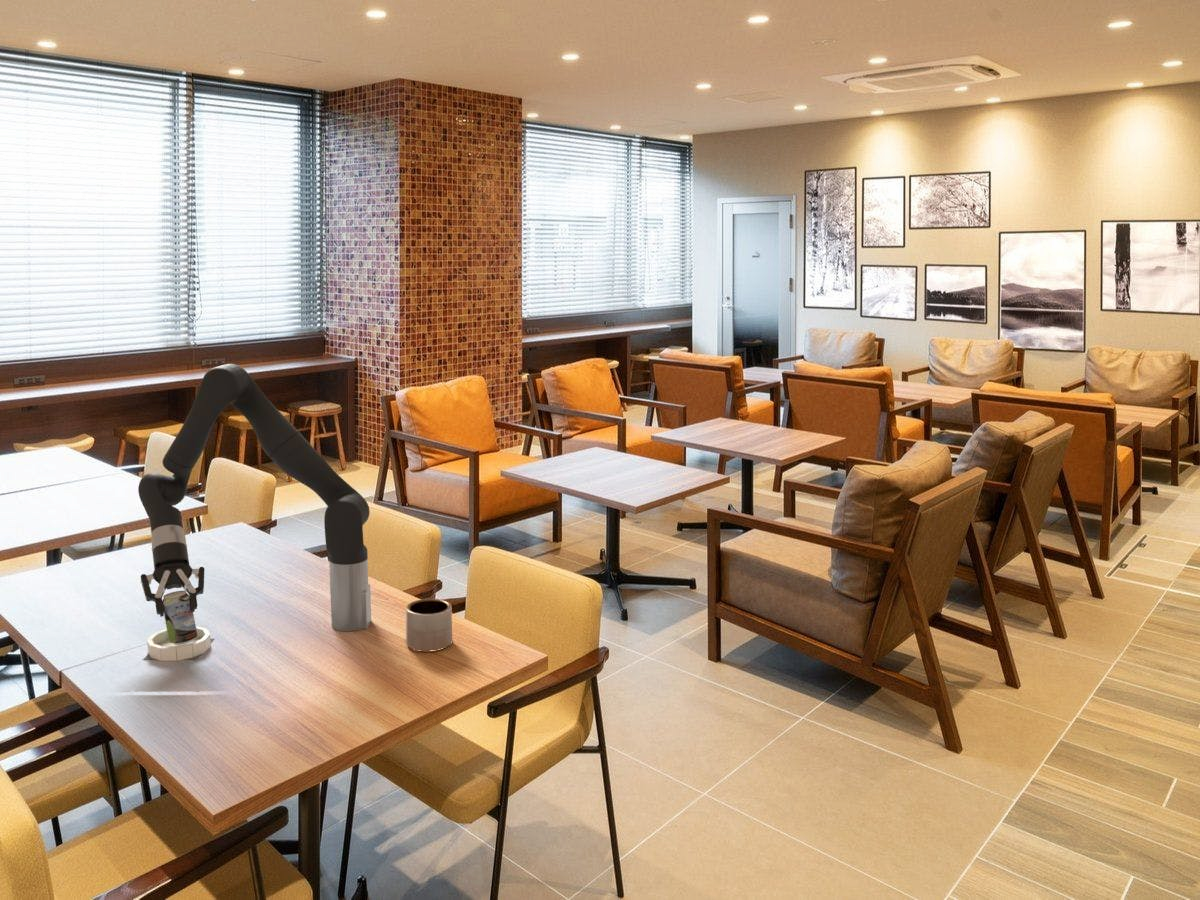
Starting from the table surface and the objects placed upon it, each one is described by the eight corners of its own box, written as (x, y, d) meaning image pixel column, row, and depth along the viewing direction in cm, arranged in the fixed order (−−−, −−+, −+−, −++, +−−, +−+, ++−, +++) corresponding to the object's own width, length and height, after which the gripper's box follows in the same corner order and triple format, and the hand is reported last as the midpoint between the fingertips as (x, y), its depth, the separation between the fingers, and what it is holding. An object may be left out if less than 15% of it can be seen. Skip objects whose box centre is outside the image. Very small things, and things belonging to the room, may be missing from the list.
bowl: (217, 637, 229) (217, 625, 228) (198, 660, 216) (197, 648, 215) (162, 637, 228) (161, 625, 227) (139, 660, 215) (138, 648, 215)
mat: (215, 640, 228) (214, 638, 228) (197, 662, 217) (196, 659, 216) (163, 640, 228) (163, 638, 228) (142, 662, 216) (142, 659, 216)
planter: (414, 656, 222) (413, 617, 220) (400, 639, 232) (399, 602, 230) (458, 648, 227) (458, 610, 225) (444, 632, 237) (443, 595, 235)
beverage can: (187, 649, 218) (184, 599, 216) (158, 645, 220) (154, 596, 217) (203, 638, 224) (200, 589, 222) (175, 635, 226) (171, 586, 223)
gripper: (135, 544, 220) (142, 611, 212) (202, 537, 227) (212, 601, 219) (136, 559, 226) (143, 625, 218) (201, 552, 233) (210, 614, 225)
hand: (177, 612), depth 219 cm, fingers closed on beverage can, 6 cm apart
